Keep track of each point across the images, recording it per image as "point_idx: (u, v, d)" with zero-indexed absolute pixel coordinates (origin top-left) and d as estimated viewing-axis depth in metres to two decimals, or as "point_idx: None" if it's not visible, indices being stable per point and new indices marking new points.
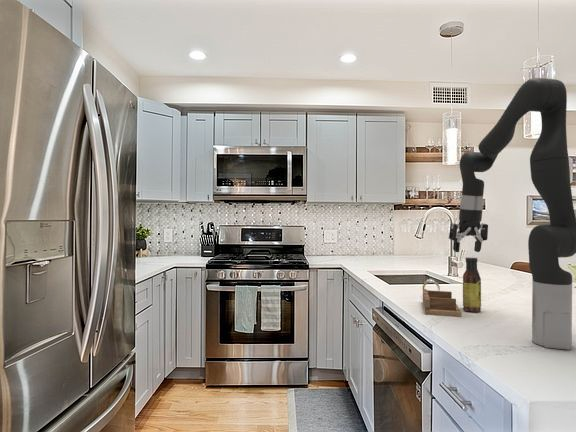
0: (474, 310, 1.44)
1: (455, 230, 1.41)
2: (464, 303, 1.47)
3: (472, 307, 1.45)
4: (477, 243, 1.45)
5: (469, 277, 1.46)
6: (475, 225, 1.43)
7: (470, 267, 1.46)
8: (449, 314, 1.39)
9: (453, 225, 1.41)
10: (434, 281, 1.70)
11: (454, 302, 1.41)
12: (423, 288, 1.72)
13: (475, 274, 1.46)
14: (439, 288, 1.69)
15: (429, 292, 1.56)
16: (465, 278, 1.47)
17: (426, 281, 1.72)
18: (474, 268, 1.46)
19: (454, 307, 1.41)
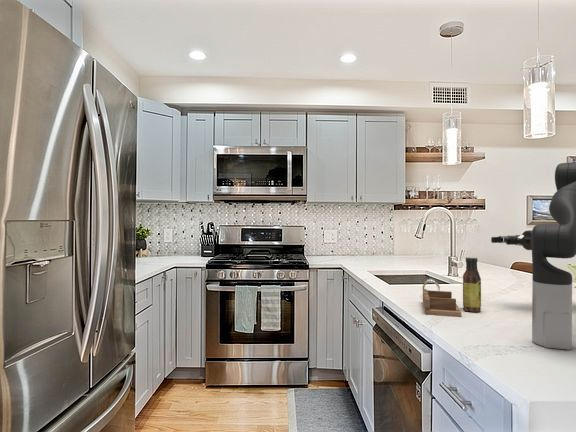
0: (474, 310, 1.44)
1: (507, 236, 1.56)
2: (464, 303, 1.47)
3: (472, 307, 1.45)
4: None
5: (469, 277, 1.46)
6: (526, 237, 1.48)
7: (470, 267, 1.46)
8: (449, 314, 1.39)
9: None
10: (434, 281, 1.70)
11: (454, 302, 1.41)
12: (423, 288, 1.72)
13: (475, 274, 1.46)
14: (439, 288, 1.69)
15: (429, 292, 1.56)
16: (465, 278, 1.47)
17: (426, 281, 1.72)
18: (474, 268, 1.46)
19: (454, 307, 1.41)
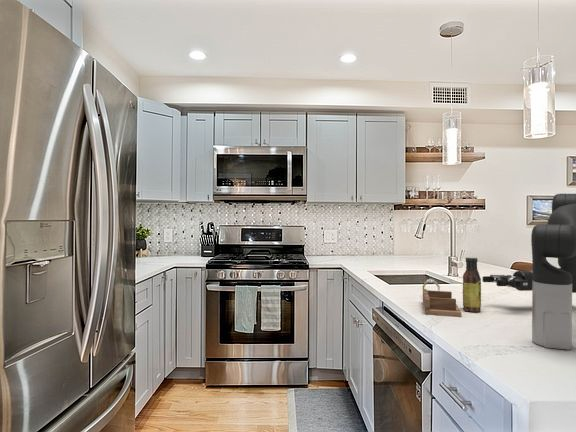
0: (474, 310, 1.44)
1: None
2: (464, 303, 1.47)
3: (472, 307, 1.45)
4: None
5: (469, 277, 1.46)
6: (517, 278, 1.48)
7: (470, 267, 1.46)
8: (449, 314, 1.39)
9: None
10: (434, 281, 1.70)
11: (454, 302, 1.41)
12: (423, 288, 1.72)
13: (475, 274, 1.46)
14: (439, 288, 1.69)
15: (429, 292, 1.56)
16: (465, 278, 1.47)
17: (426, 281, 1.72)
18: (474, 268, 1.46)
19: (454, 307, 1.41)
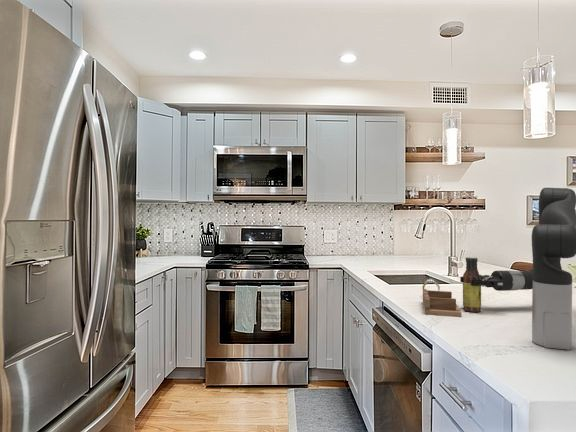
0: (474, 310, 1.44)
1: None
2: (464, 303, 1.47)
3: (472, 307, 1.45)
4: None
5: (469, 277, 1.45)
6: (494, 278, 1.47)
7: (470, 267, 1.46)
8: (449, 314, 1.39)
9: None
10: (434, 281, 1.70)
11: (454, 302, 1.41)
12: (423, 288, 1.72)
13: (475, 274, 1.45)
14: (439, 288, 1.69)
15: (429, 292, 1.56)
16: (465, 278, 1.47)
17: (426, 281, 1.72)
18: (474, 268, 1.46)
19: (454, 307, 1.41)
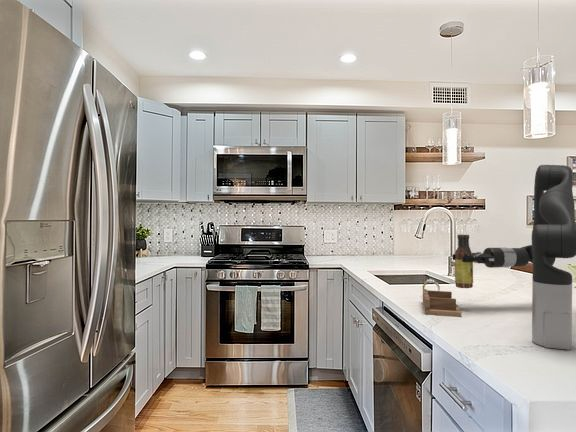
0: (466, 287, 1.45)
1: None
2: (456, 280, 1.47)
3: (464, 283, 1.45)
4: None
5: (460, 253, 1.46)
6: (486, 255, 1.47)
7: (462, 244, 1.47)
8: (449, 314, 1.39)
9: None
10: (434, 281, 1.70)
11: (454, 302, 1.41)
12: (423, 288, 1.72)
13: (467, 250, 1.46)
14: (439, 288, 1.69)
15: (429, 292, 1.56)
16: (457, 255, 1.47)
17: (426, 281, 1.72)
18: (466, 245, 1.46)
19: (454, 307, 1.41)
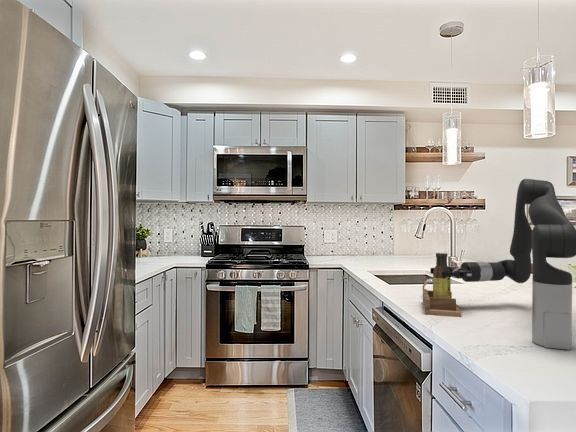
0: None
1: None
2: None
3: None
4: None
5: (438, 272, 1.47)
6: (463, 269, 1.49)
7: (440, 262, 1.48)
8: (449, 314, 1.39)
9: None
10: None
11: (454, 302, 1.41)
12: (423, 288, 1.72)
13: (445, 269, 1.47)
14: None
15: (429, 292, 1.56)
16: (435, 273, 1.48)
17: (426, 281, 1.72)
18: (444, 263, 1.48)
19: (454, 307, 1.41)
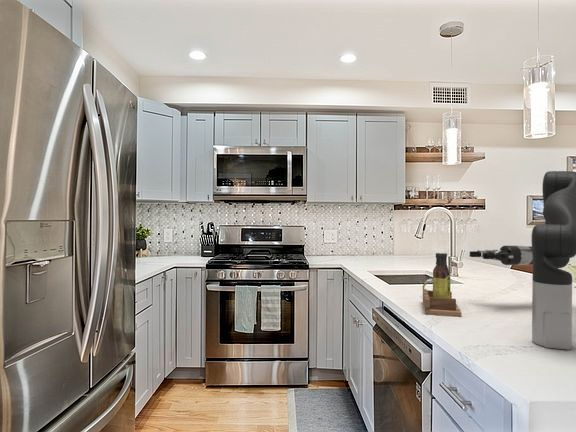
0: None
1: None
2: None
3: None
4: None
5: (438, 272, 1.47)
6: (503, 252, 1.50)
7: (439, 262, 1.48)
8: (449, 314, 1.39)
9: None
10: None
11: (454, 302, 1.41)
12: (423, 288, 1.72)
13: (444, 269, 1.47)
14: None
15: (429, 292, 1.56)
16: (435, 273, 1.48)
17: (426, 281, 1.72)
18: (443, 263, 1.48)
19: (454, 307, 1.41)
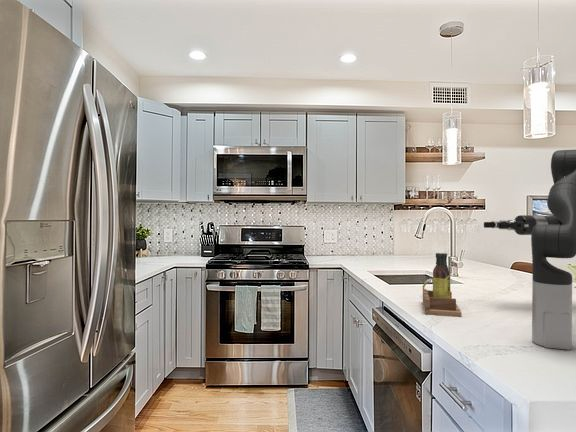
0: None
1: None
2: None
3: None
4: None
5: (438, 272, 1.47)
6: None
7: (439, 262, 1.48)
8: (449, 314, 1.39)
9: None
10: None
11: (454, 302, 1.41)
12: (423, 288, 1.72)
13: (444, 269, 1.47)
14: None
15: (429, 292, 1.56)
16: (435, 273, 1.48)
17: (426, 281, 1.72)
18: (443, 263, 1.48)
19: (454, 307, 1.41)
